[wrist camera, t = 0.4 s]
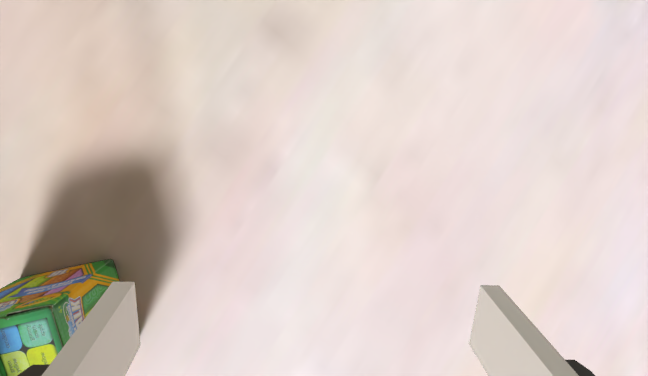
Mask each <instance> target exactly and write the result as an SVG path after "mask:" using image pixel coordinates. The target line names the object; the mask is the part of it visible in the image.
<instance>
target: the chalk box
mask: <svg viewBox="0 0 648 376" xmlns="http://www.w3.org/2000/svg"><path fill="white" fill-rule="evenodd" d="M112 282H120V281H119V278H118V275H117V271H116V268H115V265H114V262H113V260H112V259H108V260H103V261H98V262H92V263H87V264H83V265H78V266H73V267H68V268H64V269H59V270H54V271H50V272H46V273H41V274H36V275H32V276H27V277H23V278H20V279H18V280H16V281H14V282H12V283H10V284H9V285H7V286H5V287H3V288H1V289H0V376H17V375H19V374H20V373H21V372H23V371H24V370H26V369H27V368H28V367H30V366H31V365H50V364H51V363H52V361H53V360H54V359H55V357H56V356H57V355H58V353H59V352H60V351H61V349H62V348H63V347H64V345H65V344H66V343H67V341H68V340H69V339H70V337H71V336H72V335H73V333H74V332H75V331H76V330H77V328H78V327H79V326H80V324H81V323H82V322H83V320H84V319H85V318H86V316H87V315H88V314H89V312H90V311H91V310H92V308H93V307H94V306H95V304H96V303H97V302H98V300H99V299H100V298H101V297H102V295H103V294H104V293H105V291H106V290H107V289H108V287H109V286H110V285H111V283H112Z"/></svg>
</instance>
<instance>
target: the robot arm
mask: <svg viewBox="0 0 648 376" xmlns="http://www.w3.org/2000/svg"><path fill="white" fill-rule="evenodd" d="M469 345H470V346H471V348H472V350H473V351H474V353H475V355H476V356H477V358H478V360H479V361H480V363H481V364H482V366H483V368H484V369H485V371H486V373H487V374H488V376H595V375H594V374H593V373H592V372H591V371H590V370H588V369H587V368H586V367H584V366H583V365H581V364H580V363H578V362H577V361H575V360H565V359H564V358H563V357H562V356H561V355H560V354H559V353H558V352H557V350H556V349H555V348H554V347H553V346H552V345H551V344H550V343H549V341H548V340H547V339H546V338H545V337H544V336H543V335H542V333H541V332H540V331H539V330H538V329H537V328H536V327H535V326H534V324H533V323H532V322H531V321H530V320H529V319H528V318H527V316H526V315H525V314H524V313H523V312H522V311H521V310H520V309H519V307H518V306H517V305H516V304H515V303H514V302H513V301H512V300H511V298H510V297H509V296H508V295H507V294H506V293H505V292H504V290H503V289H502V288H501V287H500V286H490V285H481V286H480V291H479V296H478V301H477V306H476V311H475V316H474V321H473V326H472V331H471V336H470V342H469ZM139 347H140V335H139V324H138V313H137V302H136V291H135V282H112V283H111V285H110V286H109V287H108V289H107V290H106V291H105V293H104V294H103V295H102V297H101V298H100V299H99V300H98V302H97V303H96V304H95V306H94V307H93V308H92V310H91V311H90V312H89V314H88V315H87V316H86V318H85V319H84V320H83V322H82V323H81V324H80V326H79V327H78V328H77V330H76V331H75V332H74V333H73V335H72V336H71V337H70V339H69V340H68V341H67V343H66V344H65V345H64V347H63V348H62V349H61V351H60V352H59V353H58V355H57V356H56V357H55V359H54V360H53V361H52V363H51V364H50V365H31V366H30V367H28V368H27V369H26V370H24V371H23V372H21V373H20V374H19V375H17V376H125V375H126V373H127V371H128V369H129V367H130V365H131V363H132V361H133V359H134V357H135V355H136V353H137V351H138V349H139Z"/></svg>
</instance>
